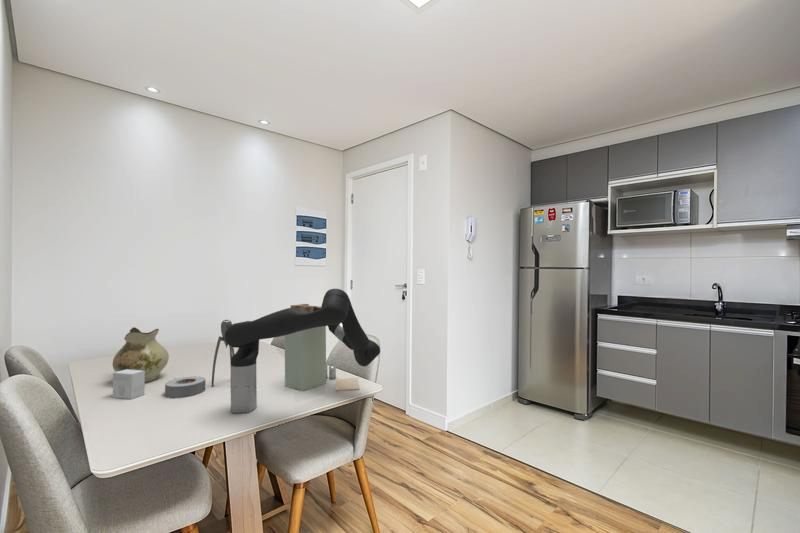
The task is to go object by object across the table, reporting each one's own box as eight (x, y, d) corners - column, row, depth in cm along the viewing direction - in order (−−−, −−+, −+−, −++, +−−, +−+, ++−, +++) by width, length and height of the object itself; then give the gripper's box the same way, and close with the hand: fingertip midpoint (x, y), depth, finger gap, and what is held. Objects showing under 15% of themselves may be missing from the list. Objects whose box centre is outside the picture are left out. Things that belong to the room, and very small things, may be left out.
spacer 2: (335, 379, 181) (335, 367, 181) (329, 379, 181) (328, 367, 181) (335, 377, 185) (335, 365, 185) (329, 377, 184) (329, 365, 184)
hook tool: (343, 314, 169) (343, 306, 169) (329, 316, 162) (329, 308, 162) (304, 311, 184) (304, 303, 184) (290, 312, 177) (290, 305, 177)
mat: (359, 389, 166) (359, 388, 166) (336, 391, 164) (336, 389, 164) (357, 379, 182) (357, 377, 182) (336, 380, 180) (336, 379, 180)
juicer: (211, 386, 172) (210, 320, 172) (232, 380, 181) (231, 317, 181) (225, 390, 167) (225, 322, 167) (246, 383, 177) (246, 319, 177)
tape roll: (193, 384, 175) (192, 374, 175) (212, 390, 167) (212, 378, 167) (157, 394, 162) (157, 382, 162) (177, 401, 154) (177, 388, 154)
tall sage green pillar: (327, 382, 176) (326, 314, 176) (302, 391, 164) (301, 318, 164) (309, 378, 184) (308, 312, 183) (283, 386, 172) (283, 316, 172)
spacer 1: (327, 378, 183) (327, 366, 183) (320, 379, 182) (320, 366, 182) (327, 376, 186) (327, 364, 186) (321, 377, 185) (320, 365, 185)
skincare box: (145, 394, 162) (145, 370, 162) (131, 399, 156) (131, 374, 156) (126, 392, 165) (126, 368, 165) (112, 397, 158) (111, 372, 158)
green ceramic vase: (148, 387, 171) (148, 332, 171) (97, 387, 172) (97, 332, 172) (178, 373, 194) (178, 324, 194) (133, 374, 194) (132, 325, 194)
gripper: (356, 320, 165) (332, 299, 174) (332, 324, 153) (308, 301, 162) (350, 334, 167) (326, 312, 176) (326, 339, 156) (302, 316, 164)
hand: (318, 307), depth 169 cm, fingers closed on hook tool, 4 cm apart
